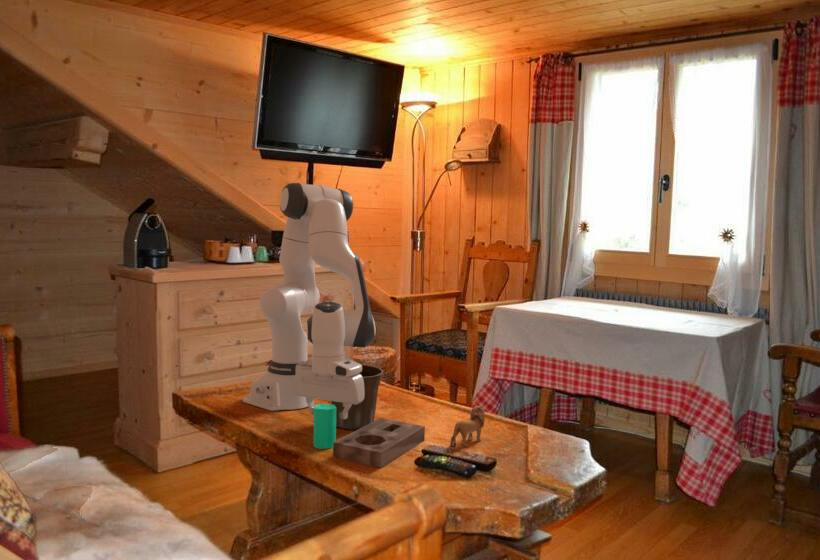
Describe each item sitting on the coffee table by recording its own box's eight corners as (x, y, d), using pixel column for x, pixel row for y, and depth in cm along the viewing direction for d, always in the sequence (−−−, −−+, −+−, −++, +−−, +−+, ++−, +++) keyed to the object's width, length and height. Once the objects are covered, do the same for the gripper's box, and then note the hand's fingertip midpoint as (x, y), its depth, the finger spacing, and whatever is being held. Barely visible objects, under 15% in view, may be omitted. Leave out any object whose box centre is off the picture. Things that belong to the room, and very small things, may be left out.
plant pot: (389, 419, 209) (390, 366, 207) (370, 435, 193) (372, 379, 192) (338, 413, 213) (339, 361, 212) (317, 428, 198) (317, 373, 196)
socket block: (332, 457, 176) (333, 442, 175) (380, 431, 197) (380, 417, 197) (380, 468, 169) (381, 452, 169) (424, 440, 191) (424, 426, 190)
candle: (331, 449, 181) (332, 405, 180) (310, 447, 182) (310, 403, 181) (338, 442, 187) (339, 399, 186) (317, 440, 188) (318, 397, 187)
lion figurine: (471, 433, 198) (472, 403, 197) (488, 437, 195) (489, 406, 194) (445, 448, 185) (446, 415, 184) (463, 452, 182) (464, 419, 181)
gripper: (288, 362, 184) (289, 413, 186) (355, 371, 175) (355, 424, 177) (302, 358, 190) (302, 407, 191) (367, 366, 181) (367, 418, 182)
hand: (328, 415), depth 184 cm, fingers open, 8 cm apart
